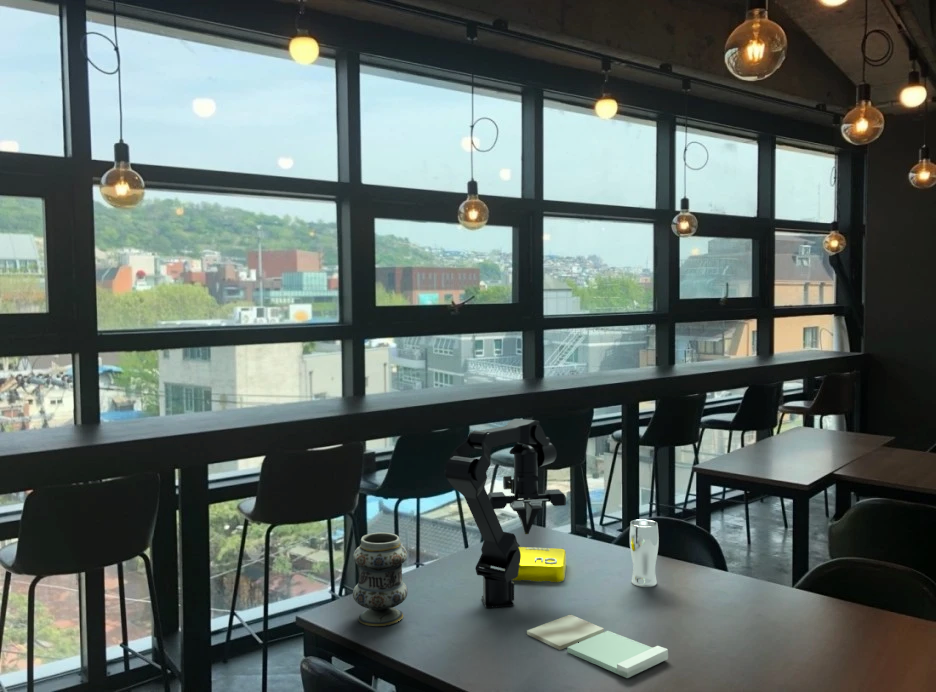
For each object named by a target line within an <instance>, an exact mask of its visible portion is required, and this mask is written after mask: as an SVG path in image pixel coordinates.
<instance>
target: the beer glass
mask: <svg viewBox="0 0 936 692" xmlns="http://www.w3.org/2000/svg"><path fill="white" fill-rule="evenodd" d="M629 523H630V527H629V547H630V548H629V549H630V555H631V561H632V567H633V569H632V576H631V583H632V585H634V586H636V587H641V588H652V587H655V586H657V584H658V582H657V576H656V565H657V564H656V563H657V558H658V552H659V542H660V541H659V539H660V537H659V526H658V525H659V524H658V522H657V521H654V520H651V519H645V518H644V519H642V518H641V519H634V520H631V521H630V522H629Z"/></svg>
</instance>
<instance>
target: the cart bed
mask: <svg viewBox="0 0 936 692" xmlns="http://www.w3.org/2000/svg"><path fill="white" fill-rule="evenodd" d="M604 630H605V629H604V627H602V626H599V625H596V624H594V623H592V622H589V621H587V620H585V619H582V618H580V617H577V616H575V615H573V614H568V615H565V616H562V617H560V618H558V619H555V620H551V621H549V622H546V623H544V624H541V625H538V626H536V627H533V628H530V629H528V630H526V634H527V636H530V637H532V638H533V639H536V640H538V641H540V642H542V643H545V644H546V645H548V646H550V647H551V648H555V649H557V650H559V651H561V650H564V649H566V648H567V647H569V646H571V645H574V644H576V643H578V642H581V641H584V640H586V639H589V638H591V637H593V636H596V635H598V634H601V633H603V632H605V631H604Z"/></svg>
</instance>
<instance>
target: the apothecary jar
mask: <svg viewBox="0 0 936 692" xmlns="http://www.w3.org/2000/svg"><path fill="white" fill-rule="evenodd" d="M352 557H353V561H354V563H355V564H356V565H357V566H358V583H357V584H356V585H355V586H354V588H353V591H352V597H353V600H354V601H355V603H356V604H358V605H359V606H360V607H362V608H365V609H366V610H364V611H362V612H361V613H360V614H359V615H358V621H359V622H360V624H362V625H364V626H369V627H387V626H386V625H388V626H391V624H392V625H395V624H398V623H399V622H400V620H401V619H402V620H403V618H404V614H403V612H402V610H399V609H397V608H396V607H398V606H399V605H401V604H402V603H403V602H405V600H406V599H407V597H408V592H409V591H408V587H407V585H406V583H404V581H403V563H405V562H406V560H407V557H408V551H407V549H406V547H405V546H403V544H401V540H400V536H398V534H395V533H391V532H373V533H372V532H371V533H368V534H364V535H363V536H362V537H361V539H360V544H359V546H358V547H357V548H356V549H355V550H354V553H353V556H352ZM402 620H401V621H402ZM398 621H399V622H398ZM394 623H395V624H394Z"/></svg>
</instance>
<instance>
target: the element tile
mask: <svg viewBox="0 0 936 692" xmlns="http://www.w3.org/2000/svg"><path fill="white" fill-rule="evenodd" d="M518 548H519V550H520V554H521V560H520V566H519V572H518V577H516V578H514V579H513V580H512V581H521V580H531V581H530V582H542V581H551V582H550V583H561V582H560V581H562V582H564V581H565V579H564V578H566V567H567V552H566V550H565V549H563V548H556V547H555V548H554V547H553V548H551V547H550V548H549V547H530V546H529V547H526V546H520V547H518ZM563 580H564V581H563Z"/></svg>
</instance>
